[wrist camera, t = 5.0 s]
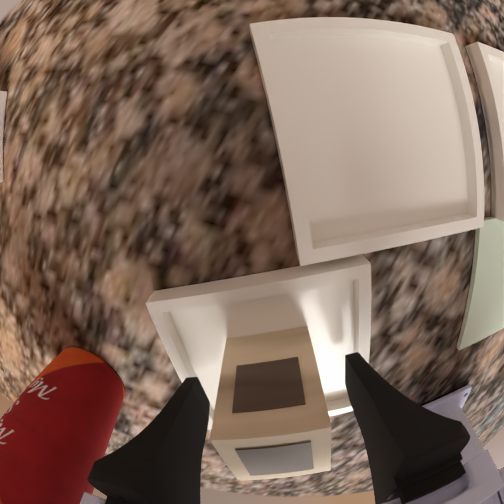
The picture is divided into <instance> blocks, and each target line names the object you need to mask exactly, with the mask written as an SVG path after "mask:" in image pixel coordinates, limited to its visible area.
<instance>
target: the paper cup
mask: <svg viewBox="0 0 504 504" xmlns="http://www.w3.org/2000/svg"><path fill="white" fill-rule="evenodd" d="M124 396H125V388H124V385H123V382H122V380H121V379H120V377H119V376H118V374H117V373H116V372H115V371H114V370H113V369H112V367H111V366H109V365H108V364H107V363H106V362H105V361H104V360H102V359H101V358H100V357H98V356H97V355H95V354H93V353H92V352H90V351H88V350H85V349H82V348H79V347H68V348H66V349H64V350H63V351H62V352H61V353H60V354H59V355H58V356H57V357H56V358H55V359H54V360H53V361H52V362H51V363H50V364H49V365H48V366H47V367H46V368H45V369H44V370H43V371H42V372H41V373H40V374H39V375H38V376H37V377H36V378H35V380H34V381H33V382H32V383H31V384H30V385H29V386H28V387H27V388H26V390H25V391H24V392H23V393H22V394H21V395H20V396H19V398H18V399H17V400H16V401H15V402H14V403H13V404H12V406H11V407H10V408H9V409H8V410H7V412H6V413H5V414H4V415H3V417H2V418H1V419H0V504H80V502H81V499H82V497H83V494H84V492H87V493H89V494H92V493H93V490H94V487H93V486H92V485H91V484H90V483H89V482H88V480H87V478H88V476H89V473H90V471H91V469H92V466H93V464H94V462H95V461H96V460H99V459H101V458H103V457H104V455H105V452H106V449H107V446H108V443H109V440H110V437H111V434H112V431H113V428H114V425H115V423H116V420H117V417H118V414H119V411H120V408H121V405H122V402H123V399H124Z"/></svg>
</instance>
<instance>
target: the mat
mask: <svg viewBox="0 0 504 504" xmlns="http://www.w3.org/2000/svg"><path fill="white" fill-rule="evenodd" d="M503 328H504V222H503V221H501V220H498V219H496V218H494V217H487V218H484V227H481V228H477V229H475V245H474V256H473V266H472V274H471V281H470V287H469V293H468V299H467V304H466V309H465V314H464V319H463V323H462V327H461V331H460V335H459V339H458V343H457V346H456V348H457V349H458V350H461V349H464V348H466V347H468V346H470V345H472V344H474V343H476V342H478V341H480V340H482V339H484V338H486V337H488V336H490V335H492V334H494V333H495V332H497V331H499V330H501V329H503Z"/></svg>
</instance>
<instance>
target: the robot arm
mask: <svg viewBox="0 0 504 504" xmlns="http://www.w3.org/2000/svg"><path fill="white" fill-rule="evenodd" d="M345 385H346V389H347V393H348V397H349V400H350V403H351V406H352V408H353V411H354V414H355V416H356V419H357V422H358V424H359V427H360V429H361V432H362V435H363V438H364V442H365V446H366V450H367V455H368V459H369V464H370V469H371V475H372V481H373V487H374V495H375V503H376V504H504V468H502V469H500V470H499V469H497V468H496V466H495V464H494V461H493V459H492V457H491V456H490V453H489V452H488V450H484V449H483V447H482V445H481V443H480V441H479V439H478V437H477V435H476V433H475V432H474V430H473V428H472V426H471V425H470V423H469V421H468V419H467V418H466V416H465V414H464V412H463V411H462V407H463V405H464V403H465V401H466V399H467V397H468V395H469V393H470V391H471V388H472V387H471V386H470V385H466V386H464V387H462V388H460V389H458V390H456V391H454V392H452V393H450V394H448V395H446V396H444V397H442V398H439V399H437V400H435V401H432V402H430V403H428V404H425V405H423V406H421V405H419V404H417V403H415V402H414V401H412V400H410V399H409V398H407V397H406V396H405V395H403V394H402V393H400V392H399V391H398V390H396V389H395V388H394V387H393V386H392V385H390V384H389V383H388V382H387V381H386V380H385V379H384V378H382V377H381V376H380V375H379V374H378V373H377V372H376V371H375V370H374V369H373V368H372V367H371V366H370V365H369V364H368V363H367V361H366V360H365V359H364V358H363V357H362V356H361V355H360V353H358V352H355V353H351V354H347V355H345ZM209 412H210V401H209V399H208V397H207V395H206V393H205V391H204V389H203V387H202V385H201V383H200V381H199V379H198V377H188V378H186V379H185V380H184V381H183V383H182V384H181V386H180V387H179V388H178V390H177V391H176V392H175V394H174V395H173V397H172V398H171V399H170V400H169V402H168V403H167V404H166V406H165V407H164V408H163V409H162V411H161V412H160V413H159V414H158V415H157V416H156V417H155V419H154V420H153V421H152V422H151V423H150V424H149V425H148V426H147V427H146V428H145V429H144V430H143V431H142V432H140V433H139V434H138V435H137V436H136V437H134V438H133V439H132V440H130V441H129V442H128V443H127V444H125V445H124V446H122V447H121V448H119V449H117V450H116V451H114V452H112V453H111V454H109V455H107V456H105V457H103V458H101V459H99V460H96V461H95V462H94V464H93V466H92V469H91V471H90V473H89V476H88V478H87V480H88V482H89V483H90V484H91V485H92V486H93V487H95V488H96V489H98V490H99V491H100V492H102V493H103V494H105V495H107V499H106V500H105V499H103V498H100V497H98V496H95V495H92V494H89V493H87V492H84V494H83V497H82V499H81V502H80V504H200V473H201V459H202V453H203V448H204V443H205V438H206V433H207V427H208V422H209Z"/></svg>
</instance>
